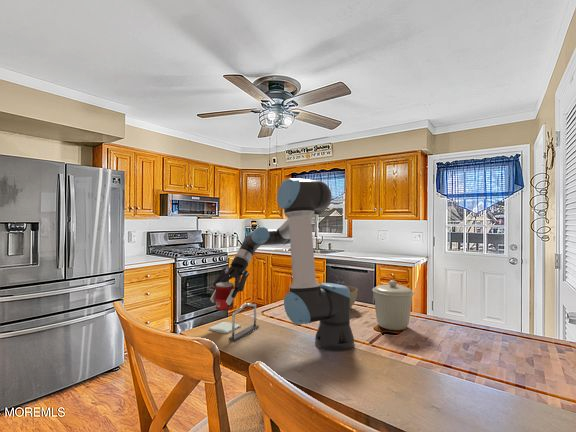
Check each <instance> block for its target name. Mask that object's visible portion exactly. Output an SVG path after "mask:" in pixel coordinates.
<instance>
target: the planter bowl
mask: <svg viewBox="0 0 576 432" xmlns="http://www.w3.org/2000/svg"><path fill="white" fill-rule="evenodd" d="M345 286H346V287H348V288H349V291H350V311H351V310H352V307H353V306H354V304H355V302H356V300H357V297H358V288H357V287H354V286H352V285H351V286H349V285H345Z"/></svg>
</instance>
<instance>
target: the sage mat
mask: <svg viewBox="0 0 576 432" xmlns="http://www.w3.org/2000/svg"><path fill="white" fill-rule="evenodd" d="M240 326H241V327H242V324H238V323H235V329H236V330H237V329H239V328H241V327H240ZM238 327H239V328H238ZM208 330H209V331H213V332H217V333H223V334H226V333H228V334H230V333H232V332H231V331H232V322H228V321H222V322H219V323H217V324H215V325H212V326H210V327H209V328H208ZM229 332H230V333H229Z"/></svg>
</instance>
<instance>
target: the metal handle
mask: <svg viewBox="0 0 576 432" xmlns="http://www.w3.org/2000/svg"><path fill="white" fill-rule="evenodd" d="M245 307H252V308H253V324H252V325H249V326H248V327H245V328H243V329H242V330H241V331H238V332H237V333H235V324H236V323H235V319H236V318H235V317H236V315H238V313H240V312H241V311H242V310H243V309H244V308H245ZM231 316H232V317H231V323H232V332H231V336H229V337H228V341H229V340H230V341H229V342H233V341H234V343H235V342H237V341H239V340H241V339H242V338H245V337H246V336H248V335H249V334H251V333H253V332H254V331H256V330H258V329H259V328H260V325H258V324H257V304H256V303H249V302H248V303H246V302H244V303H243V304H242V305H240V306H239V307H238V308H237V309H236V310H235V311H233V312H232V313H231ZM258 327H259V328H258ZM257 328H258V329H257ZM255 329H256V330H255ZM253 330H254V331H253ZM252 331H253V332H252ZM250 332H251V333H250ZM248 333H249V334H248ZM247 334H248V335H247ZM245 335H246V336H245ZM240 338H241V339H240Z"/></svg>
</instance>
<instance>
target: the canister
mask: <svg viewBox="0 0 576 432" xmlns="http://www.w3.org/2000/svg"><path fill="white" fill-rule="evenodd" d="M371 290H372V292H373V298H374V300H373V301H374V308H375V310H374V311H375V316H376V322H377V324H378V326H379V327H381V328H383V329H385V330H391V331H403V330H406V329H407V328H408V326H409V324H410V317H411V310H412V302H413V295H414V294H415V291H414V290H412V289H411V288H410V287H407V286H403V285H398V282H397V281H396V280H394V279H391V280H389V281H388V284H379V285H377V286H375V287H373V288H372V289H371Z"/></svg>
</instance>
